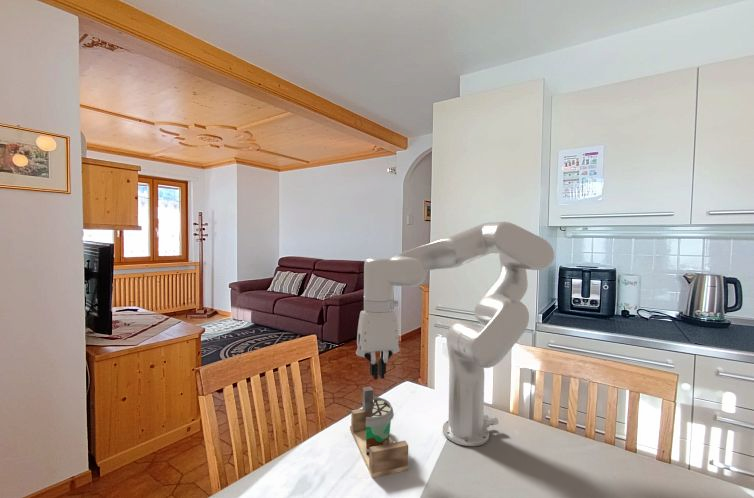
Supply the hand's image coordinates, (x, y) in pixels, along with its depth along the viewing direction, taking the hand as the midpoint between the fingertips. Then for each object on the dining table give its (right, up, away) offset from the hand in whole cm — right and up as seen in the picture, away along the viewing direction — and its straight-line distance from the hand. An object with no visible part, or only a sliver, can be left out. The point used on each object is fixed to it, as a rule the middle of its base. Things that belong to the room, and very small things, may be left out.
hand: (377, 376), depth 90 cm
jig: (0, -19, +1) cm, 19 cm away
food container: (+1, -18, +1) cm, 18 cm away
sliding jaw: (-3, -18, +9) cm, 20 cm away
